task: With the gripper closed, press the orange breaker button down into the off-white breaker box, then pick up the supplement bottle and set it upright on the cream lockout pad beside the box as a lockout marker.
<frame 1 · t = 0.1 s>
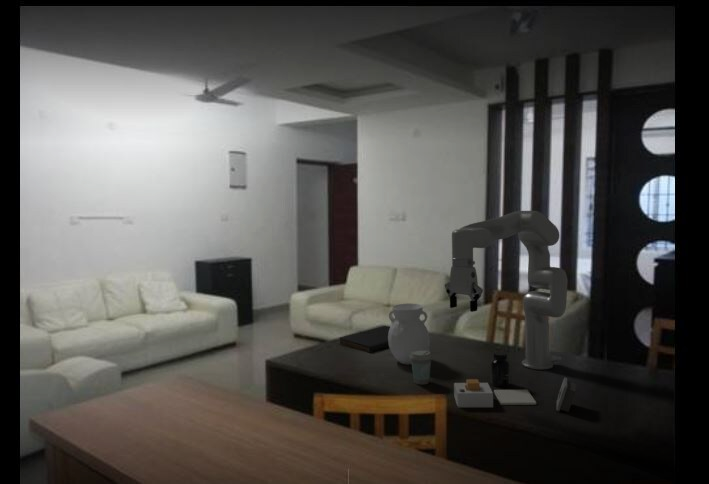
hand: (463, 309, 187), 31 cm above the table, tool pointing down, fingers open, 9 cm apart
lockout pad: (514, 398, 181), on the table
electrical switch: (565, 407, 172), on the table
file folder: (378, 342, 261), on the table
breaker box: (473, 401, 179), on the table
coffee cup: (421, 382, 201), on the table
breaker button: (472, 387, 179), point 5 cm above the table, slide at 0.0 cm
grey vase: (409, 361, 227), on the table
supplement bottle: (500, 384, 195), on the table
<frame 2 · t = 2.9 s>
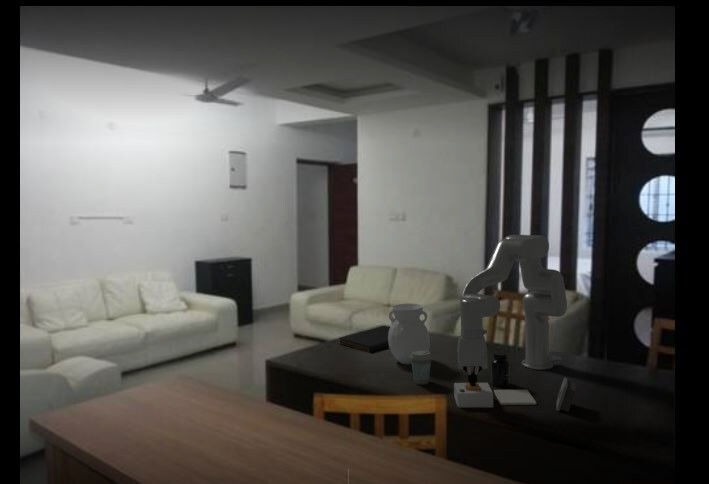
hand: (472, 384, 179), 6 cm above the table, tool pointing down, fingers closed
breaker button: (472, 390, 179), point 4 cm above the table, slide at 1.2 cm, touching gripper
everything else where it was.
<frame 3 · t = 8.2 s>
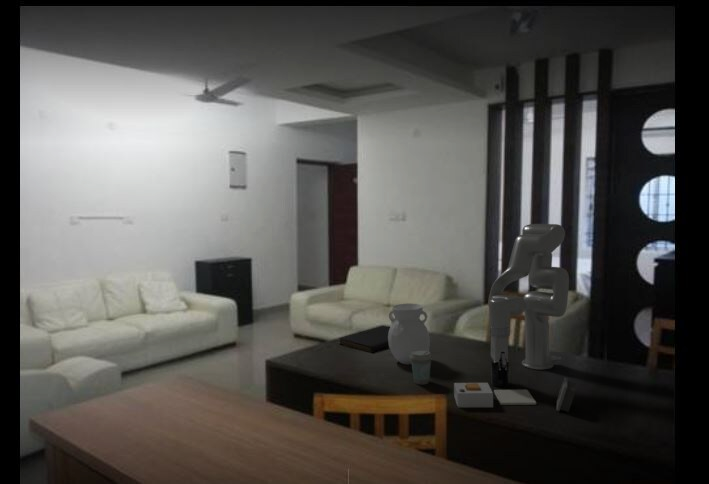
hand: (500, 376, 195), 3 cm above the table, tool pointing down, fingers closed on supplement bottle, 6 cm apart
breaker button: (472, 391, 179), point 4 cm above the table, slide at 1.5 cm
supplement bottle: (500, 384, 195), on the table, touching gripper
everything else where it was.
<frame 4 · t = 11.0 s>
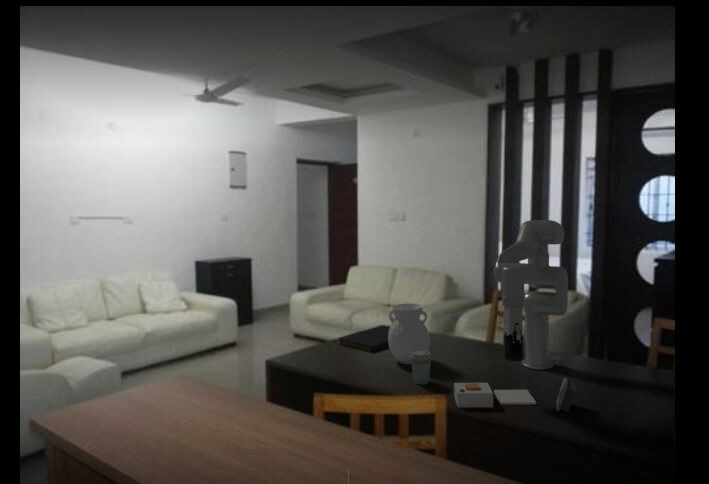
hand: (513, 350, 180), 17 cm above the table, tool pointing down, fingers closed on supplement bottle, 6 cm apart
supplement bottle: (513, 359, 180), point 14 cm above the table, touching gripper
everything else where it was.
when the fingers open (5 cm above the table, at t = 13.7 s): supplement bottle drops 1 cm, resting on lockout pad.
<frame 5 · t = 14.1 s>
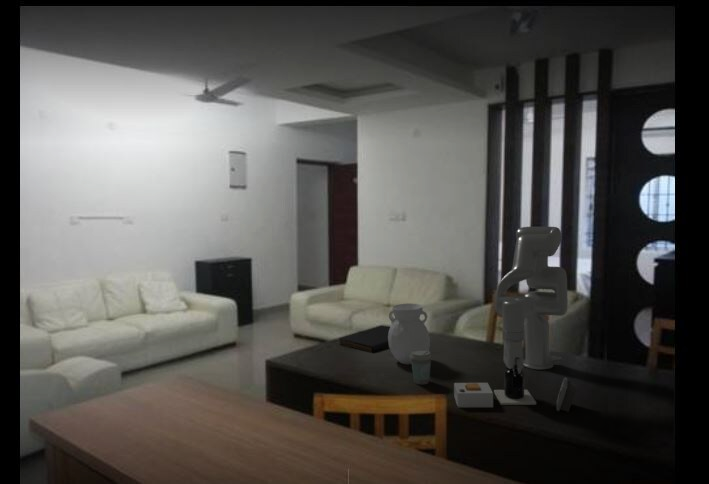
hand: (514, 382, 181), 6 cm above the table, tool pointing down, fingers open, 9 cm apart
supplement bottle: (514, 396, 181), point 1 cm above the table, touching lockout pad
everything else where it was.
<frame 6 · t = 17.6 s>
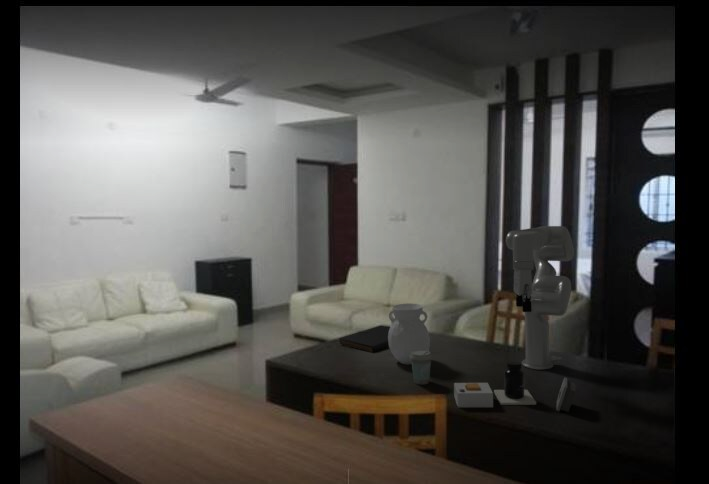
hand: (523, 309, 196), 28 cm above the table, tool pointing down, fingers open, 9 cm apart
at the end: breaker button slide at 1.5 cm; supplement bottle inside the target area on the lockout pad (0.2 cm from its centre), point 0.6 cm above the lockout pad's base; supplement bottle tilted 0° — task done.
